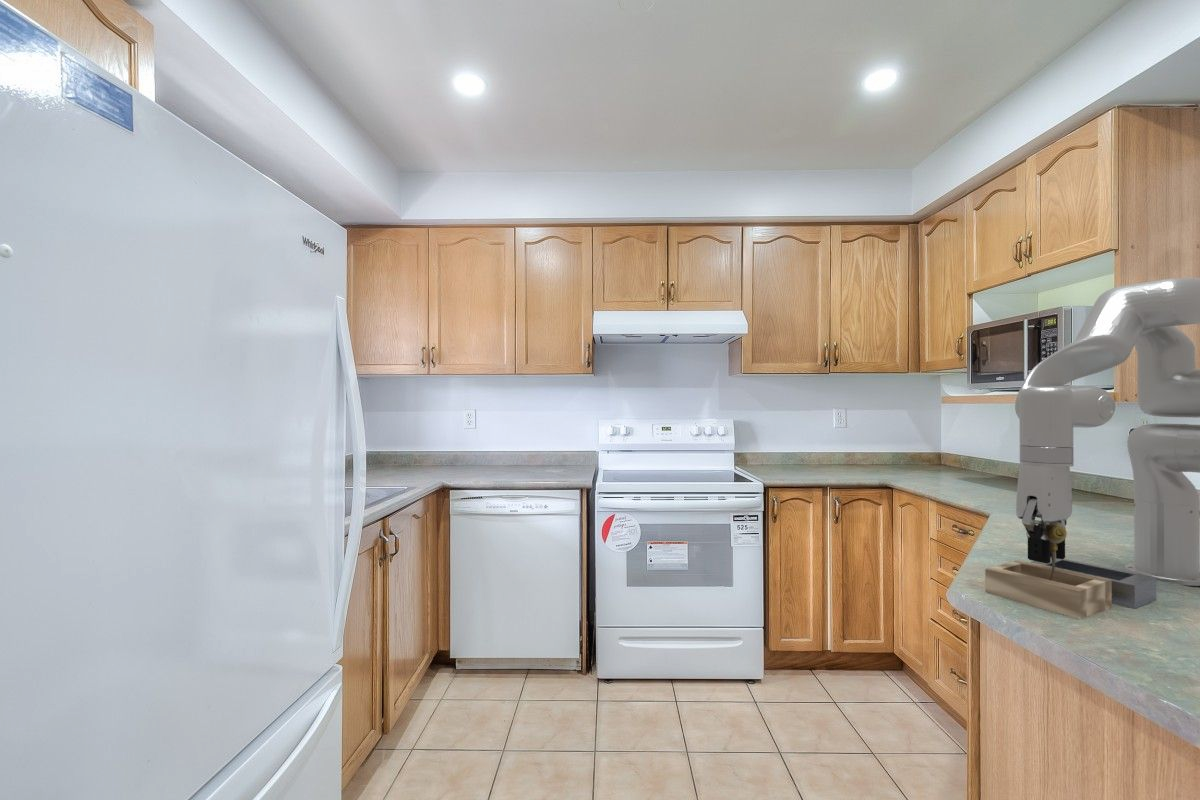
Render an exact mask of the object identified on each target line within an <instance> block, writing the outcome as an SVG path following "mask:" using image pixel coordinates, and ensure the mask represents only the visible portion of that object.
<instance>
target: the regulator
mask: <svg viewBox="0 0 1200 800" xmlns="http://www.w3.org/2000/svg"><path fill="white" fill-rule="evenodd" d="M1040 521H1043V520H1040ZM1037 525H1039V524H1037ZM1039 527H1040V528H1041V530H1042V525H1039ZM1065 528H1066V526H1065V527H1064V526H1063V525H1062V524H1061V523H1059V522H1057V521H1055V522H1051V523H1049V531H1048V539H1047V540H1050V551H1051V556H1052V564H1053V565H1052V573H1051V577H1050V579H1049V580H1051V581H1052V578H1053V576H1052V575H1053V572H1054V571H1055V562H1056V550H1057V549H1058V547H1057V544H1055V543H1060V542H1062V541H1064V540H1065V541H1066V538H1067V534H1068V533H1067V528H1066V529H1065Z"/></svg>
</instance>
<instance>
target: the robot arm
mask: <svg viewBox="0 0 1200 800" xmlns="http://www.w3.org/2000/svg"><path fill="white" fill-rule="evenodd" d="M1196 324H1198V325H1200V277H1177V278H1176V277H1175V278H1166V279H1160V280H1153V281H1147V282H1139V283H1133V284H1127V285H1121V286H1116V287H1112V288H1110V289H1107V290H1106V291H1105V292H1102V294H1100V295H1099V297H1098V298H1097V299H1096V301H1095V303H1094V304H1093V306H1092V307H1091V310H1090V311H1089V313H1088V314H1087V317H1086V319H1085V321H1084V322H1083V325H1082V327H1081V328H1080V330H1079V332H1078V334H1077V336H1076V338H1075V339H1074V340H1073V342H1071V343H1069V344H1067V345H1065V346H1063V347H1061V348H1060V349H1058V350H1056V351H1055V352H1054V353H1052V354H1050V355H1049V356H1047V357H1046V358H1044V359H1043V360H1041V361H1040V362H1039V363H1037V364H1036V365H1035V366H1033V368H1032V369H1031V370H1030V371H1029V373H1028V374H1027V376H1026V378H1025V379H1024V381H1023V383H1022V384H1021V386H1020V389H1019V390H1018V392H1017V395H1016V398H1015V404H1014V410H1015V413H1016V415H1017V418H1018V419H1019V464H1020V467H1019V471H1018V476H1017V477H1018V478H1017V485H1016V502H1015V504H1016V505H1015V507H1016V508H1015V515H1016V517H1017V518H1018V519H1020V520H1021V524H1022V526H1024V529H1025V530H1026V536H1025V537H1027V559H1028V560H1029V561H1031V562H1032V561H1037V562H1042V563H1050V557H1052V556H1051V551H1050V540H1047V539H1048V531H1049V523H1051V522H1055V521H1057V522H1059V523H1061V524H1062V525H1063V526H1064V527H1065V529H1066V530H1067V528H1066V525H1067V523H1068V522H1067V521H1068V520H1069V518H1071V516H1072V512H1073V490H1072V489H1073V487H1072V477H1071V476H1072V475H1071V467H1074V461H1075V460H1074V428H1080V429H1081V428H1085V429H1086V428H1088V429H1089V428H1096V427H1100V426H1103V425H1105V424H1107V423H1108V422H1109V421H1110V420H1111V419H1112V418H1113V416H1114V414H1115V410H1116V402H1115V400H1114V398H1113V395H1112V394H1110V393H1109V392H1108V391H1107V390H1106V389H1103V388H1102V387H1099V386H1093V385H1067V384H1069V383H1071V382H1073V381H1075V380H1079V379H1081V378H1085V377H1088V376H1091V375H1094V374H1098V373H1101V372H1104V371H1107V370H1109V369H1113V368H1115V367H1117V366H1119V365H1121V364H1123V363H1125V362H1126V361H1127V360H1128V358H1129V357H1130V355H1131V353H1132V351H1133V349H1134V347H1135V350H1136V356H1137V380H1136V381H1137V384H1136V385H1137V401H1138V402H1137V404H1138V407H1139V409H1140V410H1141V412H1143V413H1144V414H1146V415H1149V416H1154V417H1162V418H1198V419H1199V418H1200V369H1197V366H1196V346H1195V344H1194V342H1193V341H1192V340H1191V338H1190V337H1189V336H1188V335H1187V334H1186V333H1185V332H1183V331H1182V330H1181V329H1179V327H1177V326H1187V325H1189V326H1190V325H1196ZM1126 446H1127V451H1128V455H1129V459H1130V463H1131V468H1132V475H1133V477H1132V478H1133V510H1134V511H1133V514H1134V515H1133V517H1134V518H1133V523H1134V524H1133V525H1134V527H1133V528H1134V533H1133V534H1134V535H1133V536H1134V539H1133V540H1134V546H1133V547H1134V562H1132V563H1125V564H1124V571H1127V572H1132V573H1137V574H1142V575H1147V576H1152V577H1156V581H1160V582H1165V583H1170V584H1175V585H1180V586H1188V587H1189V586H1190V587H1200V495H1199V492H1198V490H1197V488H1196V486H1195V485H1194V484H1193V482H1192V481H1191V480H1190V479H1189V478H1188V477H1187V476H1186V475H1185V473H1198V474H1200V424H1188V423H1149V424H1144V425H1143V424H1142V425H1139V426H1137V427H1135V428H1134V429H1133V430H1131V431H1130V432H1129V434H1128V436H1127V445H1126ZM1036 518H1039V519H1041V520H1043V521H1041V520H1038V519H1036ZM1038 524H1039V525H1042V530H1041V528H1040V527H1039V525H1038ZM1055 544H1057V547H1058V549H1057V550H1056V558H1058V559H1066V539H1065V540H1064V541H1062V542H1060V543H1055Z"/></svg>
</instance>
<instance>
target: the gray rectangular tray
mask: <svg viewBox="0 0 1200 800" xmlns="http://www.w3.org/2000/svg"><path fill="white" fill-rule="evenodd" d="M1030 562H1031V563H1036V564H1040V565H1045V566H1050V567H1052V565H1053V564H1052V557H1050V563H1042V562H1037V561H1032V560H1031V561H1030ZM1055 568H1059V569H1064V570H1069V571H1073V572H1078V573H1083V574H1087V575H1092V576H1097V577H1101V578H1106V579H1111V584H1112V604H1114V605H1118V606H1121V607H1126V608H1129V609H1134V610H1136V609H1138V608H1141V607H1143V606H1145V605H1148V604H1149V603H1152V602H1154V601H1156V600H1157V580H1156V577H1152V576H1147V575H1142V574H1137V573H1132V572H1127V571H1125V570H1123V569H1122V570H1121V569H1117V568H1112V567H1107V566H1101V565H1098V564H1097V565H1095V564H1092V563H1091V564H1090V563H1086V562H1082V561H1075V560H1071V559H1066V558H1064V559H1058V558H1056V562H1055Z"/></svg>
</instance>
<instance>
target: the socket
mask: <svg viewBox="0 0 1200 800" xmlns="http://www.w3.org/2000/svg"><path fill="white" fill-rule="evenodd" d="M1031 562H1032V561H1026V560H1021V559H1017V560H1014V561H1009V562H1006V563H1002V564H1000V565H998V564H997V565H995V566H991V567H988V568H985V569H984V572H985V573H984V574H985V576H984V577H985V581H984V582H985V589H984V590H985V593H988V594H992V595H996V596H997V597H1002V598H1005V599H1009V600H1011V599H1012V601H1015V602H1019V603H1021V604H1026V605H1029V606H1033V607H1035V606H1036V608H1039V609H1042V610H1045V609H1046V610H1047V611H1049V610H1050V612H1052V611H1053V613H1056V612H1057V613H1056V614H1059V613H1061V615H1062V614H1064V615H1063V616H1066V615H1068V616H1067V617H1069V616H1070V617H1069V618H1073V617H1074V618H1073V619H1077V620H1082V619H1085V618H1088V617H1091V616H1093V615H1096V614H1099V613H1102V612H1104V611H1108V610H1110V609H1112V604H1113V603H1112V584H1111V579H1106V578H1101V577H1097V576H1092V575H1087V574H1083V573H1078V572H1073V571H1069V570H1064V569H1059V568H1055V571H1054V572H1053V575H1052V576H1053V578H1052V581H1051V580H1049V579H1050V577H1051V573H1052V567H1050V566H1045V565H1040V564H1036V563H1031Z"/></svg>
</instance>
